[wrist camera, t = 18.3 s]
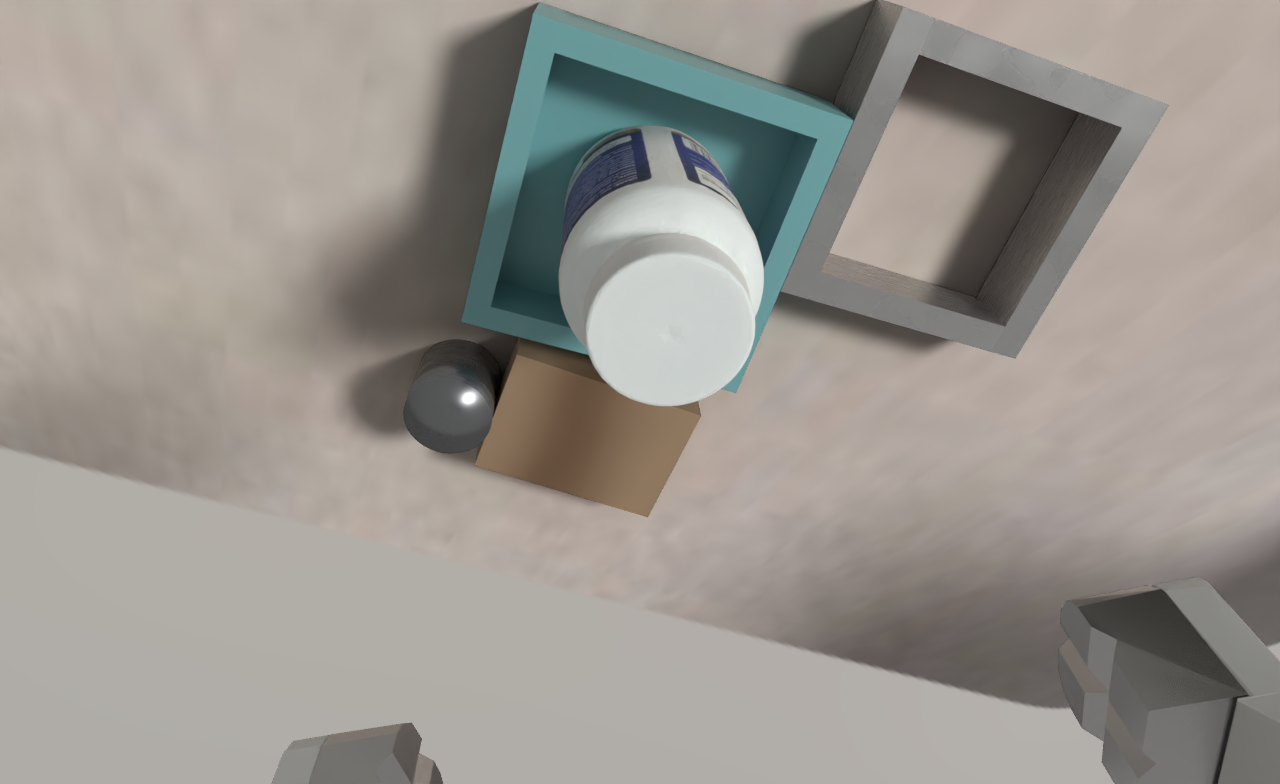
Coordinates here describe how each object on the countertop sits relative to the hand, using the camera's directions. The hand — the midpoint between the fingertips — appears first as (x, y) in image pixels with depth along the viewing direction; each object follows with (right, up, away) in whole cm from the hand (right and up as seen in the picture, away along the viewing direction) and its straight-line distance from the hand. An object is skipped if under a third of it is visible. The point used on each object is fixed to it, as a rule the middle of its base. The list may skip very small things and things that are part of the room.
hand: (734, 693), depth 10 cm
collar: (+9, +11, +18) cm, 23 cm away
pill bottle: (-1, +10, +17) cm, 20 cm away
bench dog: (-8, +4, +21) cm, 23 cm away
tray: (-1, +10, +18) cm, 21 cm away
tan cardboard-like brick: (-3, +3, +22) cm, 23 cm away
